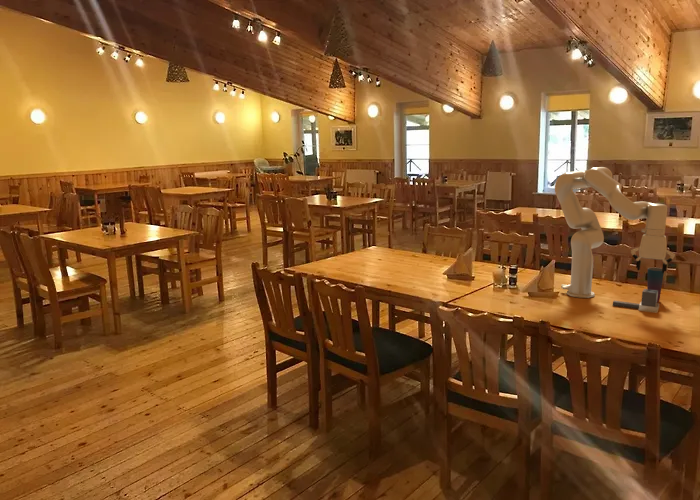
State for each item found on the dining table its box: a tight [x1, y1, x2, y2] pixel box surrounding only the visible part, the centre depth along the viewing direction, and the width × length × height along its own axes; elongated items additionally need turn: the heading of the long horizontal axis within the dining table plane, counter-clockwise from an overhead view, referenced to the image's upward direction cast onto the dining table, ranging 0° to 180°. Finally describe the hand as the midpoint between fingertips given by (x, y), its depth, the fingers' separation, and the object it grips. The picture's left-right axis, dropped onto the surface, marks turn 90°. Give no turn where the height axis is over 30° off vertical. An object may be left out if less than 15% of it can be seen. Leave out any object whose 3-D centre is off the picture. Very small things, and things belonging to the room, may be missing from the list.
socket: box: [640, 288, 658, 307], centre depth 258 cm, size 6×6×6 cm
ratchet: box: [612, 300, 660, 314], centre depth 262 cm, size 18×7×6 cm, turn 57°
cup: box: [646, 267, 665, 303], centre depth 272 cm, size 7×7×15 cm
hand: (650, 271), depth 256 cm, fingers open, 9 cm apart
